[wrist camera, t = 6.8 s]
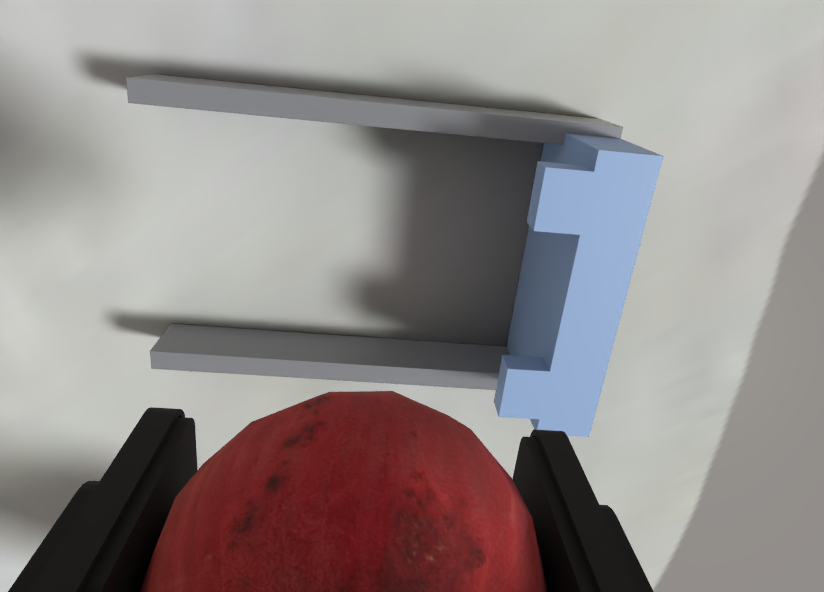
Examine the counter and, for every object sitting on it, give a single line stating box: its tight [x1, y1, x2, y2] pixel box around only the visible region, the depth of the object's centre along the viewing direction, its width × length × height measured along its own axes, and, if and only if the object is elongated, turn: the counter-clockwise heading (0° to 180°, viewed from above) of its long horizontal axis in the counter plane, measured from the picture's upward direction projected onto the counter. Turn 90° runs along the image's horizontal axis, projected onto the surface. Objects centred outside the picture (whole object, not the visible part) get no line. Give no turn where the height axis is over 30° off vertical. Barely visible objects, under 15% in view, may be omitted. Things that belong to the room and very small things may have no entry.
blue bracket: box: [494, 133, 663, 437], centre depth 22 cm, size 10×4×6 cm, turn 174°
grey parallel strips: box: [126, 74, 623, 390], centre depth 21 cm, size 21×17×2 cm
